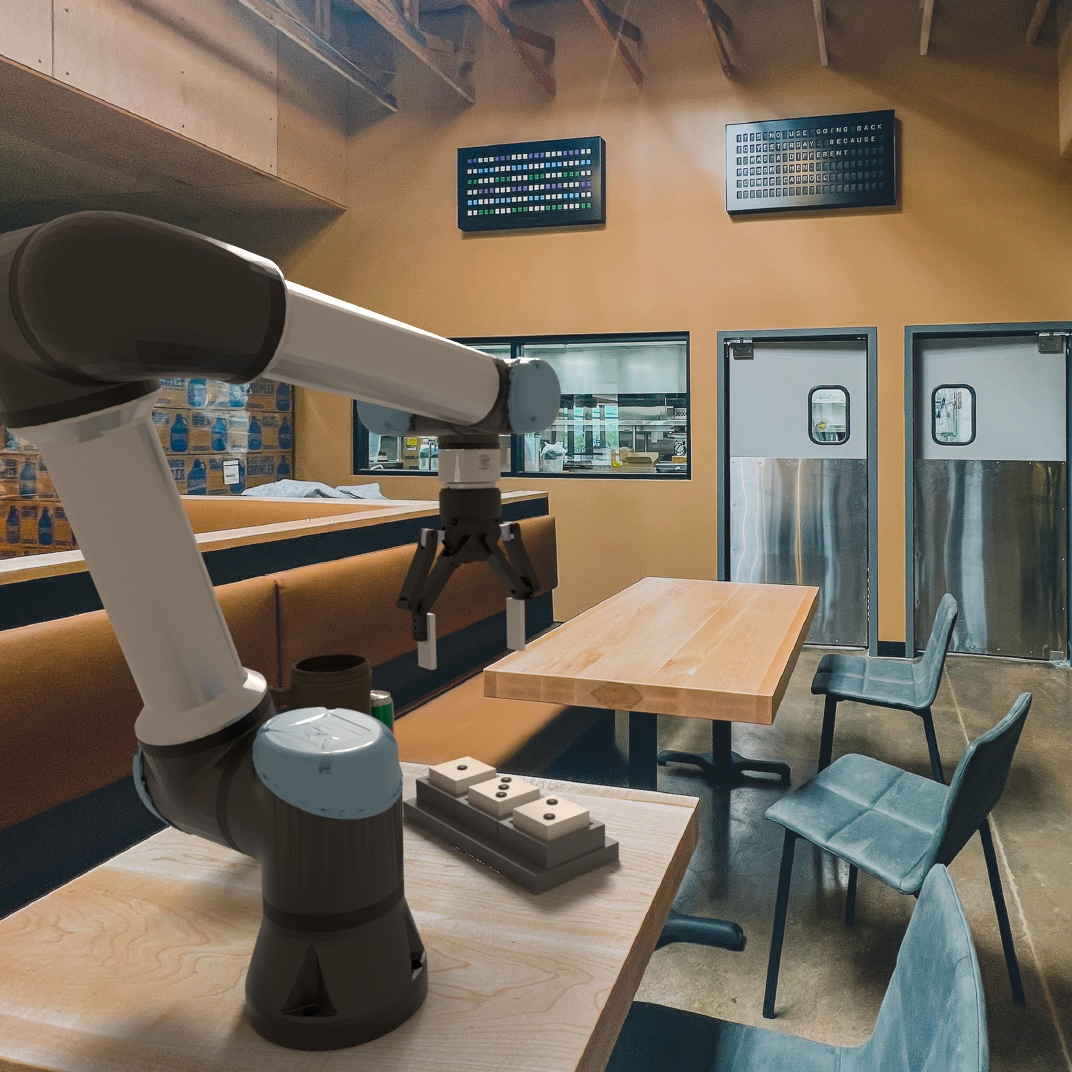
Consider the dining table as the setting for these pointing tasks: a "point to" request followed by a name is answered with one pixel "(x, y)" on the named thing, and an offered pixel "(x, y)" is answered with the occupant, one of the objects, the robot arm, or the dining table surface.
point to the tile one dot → (460, 774)
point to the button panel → (509, 839)
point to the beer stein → (328, 684)
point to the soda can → (383, 708)
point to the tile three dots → (502, 794)
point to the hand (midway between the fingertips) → (473, 658)
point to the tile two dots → (550, 817)
